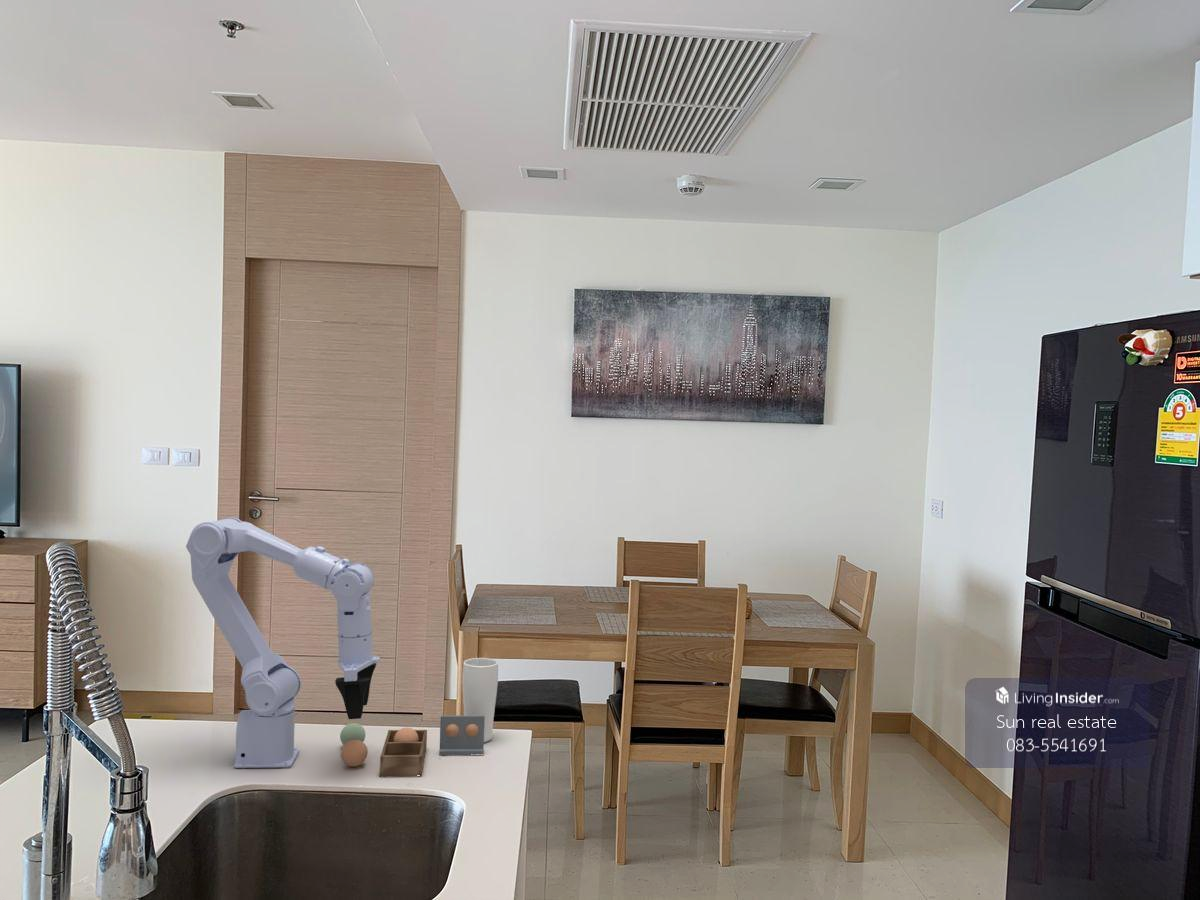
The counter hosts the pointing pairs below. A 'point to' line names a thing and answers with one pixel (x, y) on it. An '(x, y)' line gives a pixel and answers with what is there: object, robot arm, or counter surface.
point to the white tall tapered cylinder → (480, 690)
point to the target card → (462, 735)
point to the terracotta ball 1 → (354, 753)
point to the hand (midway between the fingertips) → (358, 711)
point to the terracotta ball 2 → (406, 735)
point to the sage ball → (352, 733)
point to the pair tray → (403, 755)
